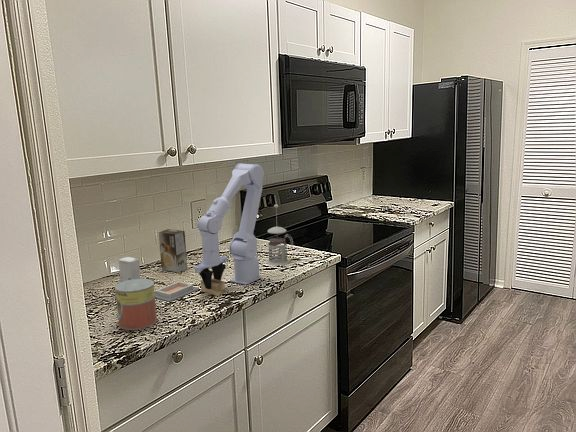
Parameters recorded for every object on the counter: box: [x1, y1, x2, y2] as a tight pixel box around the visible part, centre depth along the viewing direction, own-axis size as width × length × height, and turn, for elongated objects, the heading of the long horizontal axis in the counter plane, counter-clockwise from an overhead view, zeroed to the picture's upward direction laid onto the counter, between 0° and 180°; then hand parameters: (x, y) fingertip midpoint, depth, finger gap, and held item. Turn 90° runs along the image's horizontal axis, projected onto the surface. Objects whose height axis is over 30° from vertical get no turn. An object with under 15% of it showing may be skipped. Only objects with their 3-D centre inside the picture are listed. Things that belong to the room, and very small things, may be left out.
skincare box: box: [118, 256, 141, 283], centre depth 169 cm, size 6×4×12 cm
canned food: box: [114, 277, 158, 331], centre depth 142 cm, size 11×11×12 cm
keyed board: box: [154, 281, 200, 303], centre depth 167 cm, size 14×10×2 cm
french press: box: [266, 203, 294, 266], centre depth 198 cm, size 10×12×25 cm
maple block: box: [200, 277, 226, 296], centre depth 167 cm, size 4×8×4 cm, turn 53°
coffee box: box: [158, 228, 188, 273], centre depth 193 cm, size 9×6×16 cm
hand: (212, 286), depth 167 cm, fingers closed on maple block, 4 cm apart
